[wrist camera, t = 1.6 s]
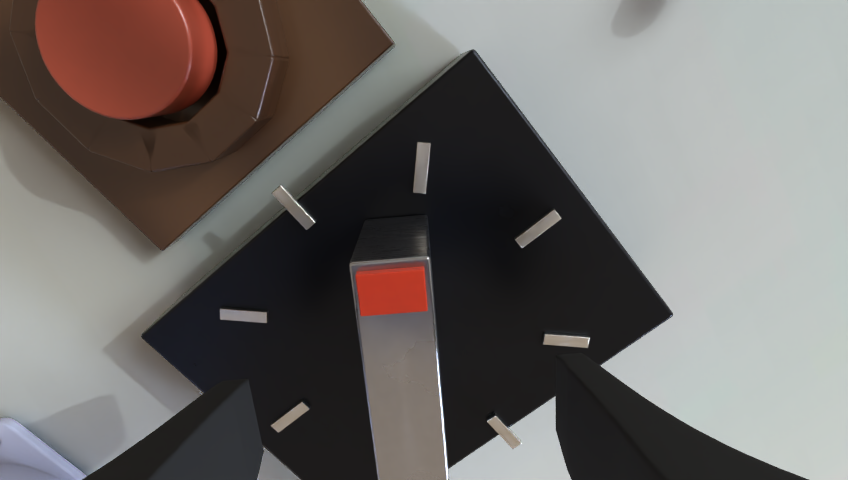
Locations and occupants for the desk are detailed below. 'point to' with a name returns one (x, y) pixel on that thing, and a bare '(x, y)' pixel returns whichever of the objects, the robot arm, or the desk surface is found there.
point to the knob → (400, 347)
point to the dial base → (452, 282)
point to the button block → (199, 105)
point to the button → (128, 53)
